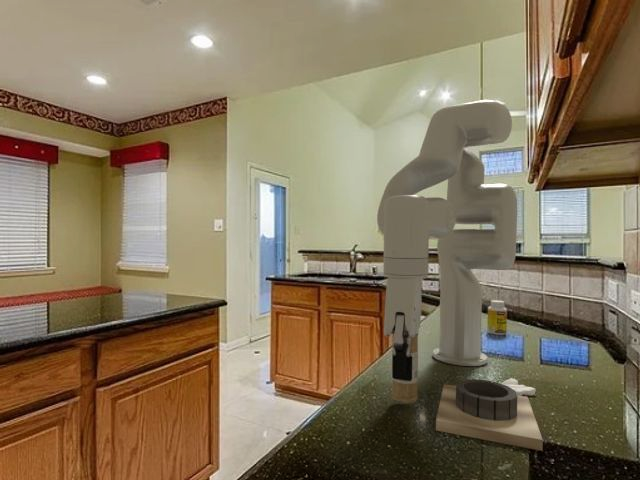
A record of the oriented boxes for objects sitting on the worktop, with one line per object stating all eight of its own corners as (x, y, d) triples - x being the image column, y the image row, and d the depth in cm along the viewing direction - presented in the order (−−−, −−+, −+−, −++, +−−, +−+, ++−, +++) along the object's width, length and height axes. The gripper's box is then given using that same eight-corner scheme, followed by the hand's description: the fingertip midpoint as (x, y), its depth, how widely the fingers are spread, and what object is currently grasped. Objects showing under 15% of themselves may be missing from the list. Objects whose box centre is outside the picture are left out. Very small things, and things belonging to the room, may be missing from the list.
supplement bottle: (496, 336, 118) (497, 302, 118) (483, 331, 124) (483, 300, 124) (510, 334, 120) (511, 302, 120) (497, 330, 125) (497, 299, 126)
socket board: (443, 392, 73) (444, 368, 73) (527, 405, 67) (527, 379, 67) (435, 430, 58) (436, 400, 58) (542, 451, 52) (543, 417, 53)
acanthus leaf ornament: (513, 385, 79) (513, 375, 79) (540, 398, 72) (541, 388, 72) (482, 387, 77) (482, 378, 77) (507, 401, 70) (507, 391, 70)
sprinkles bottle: (400, 390, 69) (400, 316, 69) (423, 398, 66) (423, 320, 66) (385, 398, 66) (386, 320, 66) (409, 406, 63) (410, 325, 63)
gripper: (393, 263, 75) (392, 356, 75) (372, 271, 59) (371, 389, 60) (433, 265, 72) (432, 361, 73) (421, 273, 57) (420, 397, 57)
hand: (404, 373), depth 66 cm, fingers closed on sprinkles bottle, 4 cm apart
